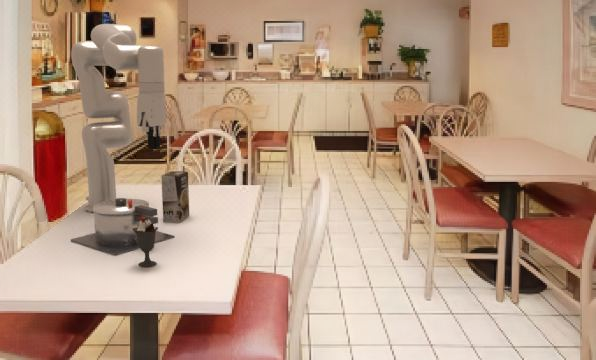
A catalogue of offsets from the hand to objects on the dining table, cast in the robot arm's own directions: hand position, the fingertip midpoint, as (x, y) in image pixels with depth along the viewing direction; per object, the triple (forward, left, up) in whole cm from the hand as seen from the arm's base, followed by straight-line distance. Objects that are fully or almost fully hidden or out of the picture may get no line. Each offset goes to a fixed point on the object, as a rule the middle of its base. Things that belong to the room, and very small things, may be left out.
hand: (154, 148), depth 189 cm
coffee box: (-10, +16, -28) cm, 34 cm away
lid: (-1, -10, -18) cm, 20 cm away
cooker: (-3, -10, -27) cm, 29 cm away
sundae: (+19, -20, -28) cm, 39 cm away
